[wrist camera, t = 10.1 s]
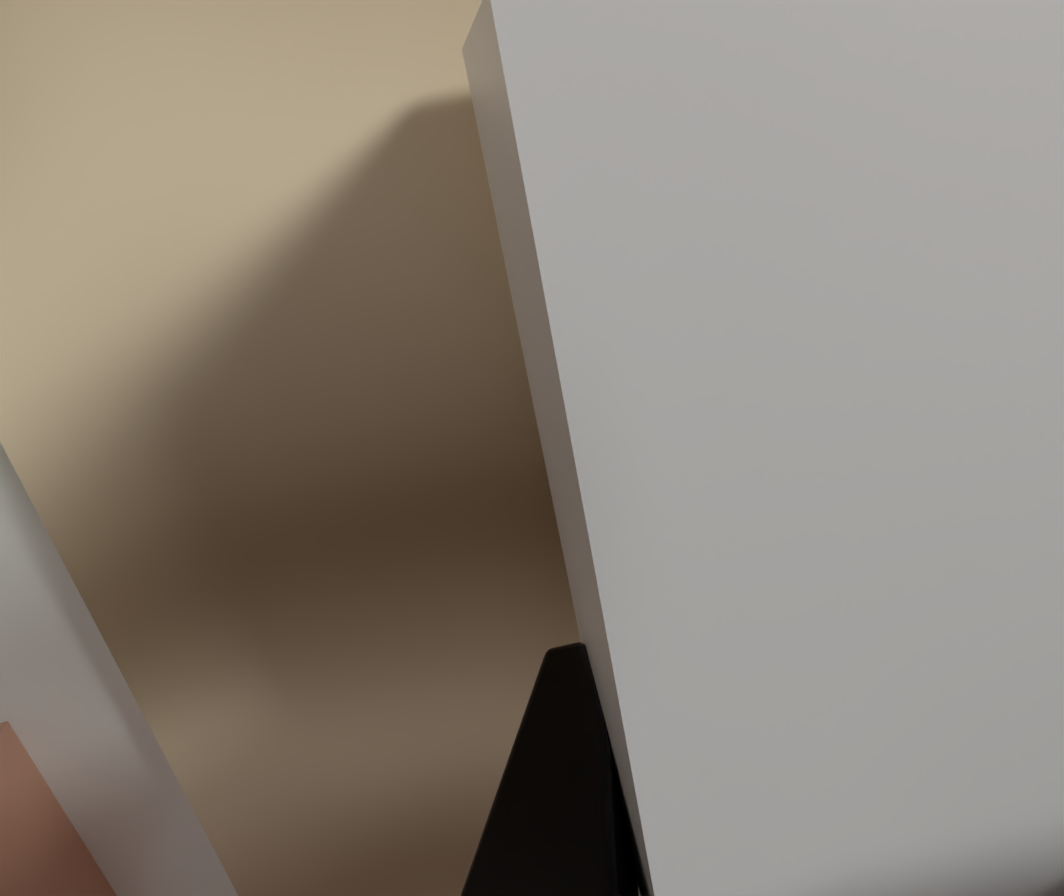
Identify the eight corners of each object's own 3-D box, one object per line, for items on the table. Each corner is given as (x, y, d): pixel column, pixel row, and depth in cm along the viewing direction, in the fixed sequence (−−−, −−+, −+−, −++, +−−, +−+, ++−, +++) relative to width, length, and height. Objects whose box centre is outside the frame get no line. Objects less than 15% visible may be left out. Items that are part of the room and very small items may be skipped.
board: (941, 811, 16) (990, 882, 14) (324, 953, 15) (314, 1039, 14) (1005, -356, 8) (1119, -439, 7) (-188, -121, 8) (-317, -161, 7)
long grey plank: (799, 887, 12) (1008, 1363, 8) (637, 923, 12) (751, 1421, 8) (737, -9, 7) (1230, -169, 3) (462, 48, 7) (488, -16, 3)
